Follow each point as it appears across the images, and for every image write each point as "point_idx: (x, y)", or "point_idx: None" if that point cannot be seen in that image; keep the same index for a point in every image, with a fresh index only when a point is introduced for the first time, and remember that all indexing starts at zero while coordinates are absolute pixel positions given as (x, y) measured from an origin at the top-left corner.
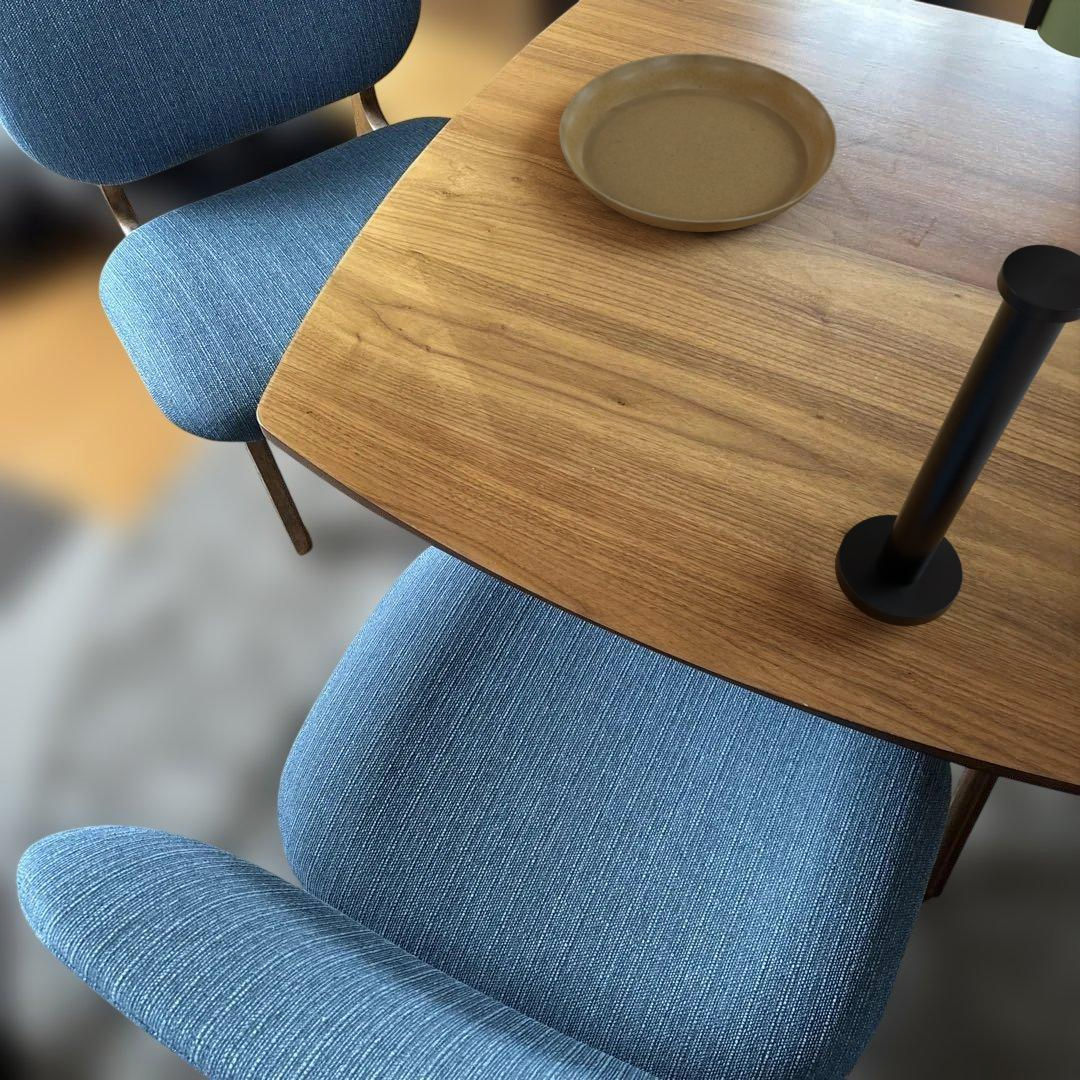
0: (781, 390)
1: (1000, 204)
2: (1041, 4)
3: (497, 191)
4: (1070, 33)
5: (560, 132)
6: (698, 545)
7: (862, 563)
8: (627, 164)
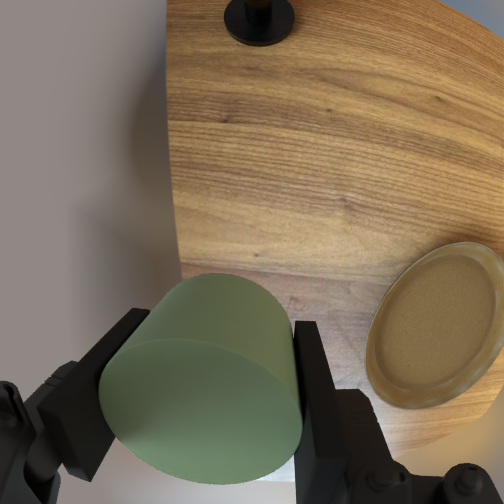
0: (357, 126)
1: None
2: (307, 340)
3: None
4: (246, 290)
5: None
6: (365, 14)
7: (279, 9)
8: (475, 303)
